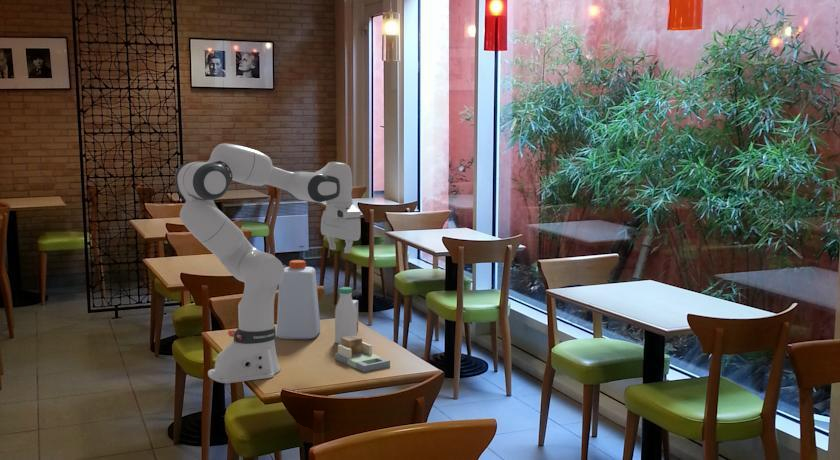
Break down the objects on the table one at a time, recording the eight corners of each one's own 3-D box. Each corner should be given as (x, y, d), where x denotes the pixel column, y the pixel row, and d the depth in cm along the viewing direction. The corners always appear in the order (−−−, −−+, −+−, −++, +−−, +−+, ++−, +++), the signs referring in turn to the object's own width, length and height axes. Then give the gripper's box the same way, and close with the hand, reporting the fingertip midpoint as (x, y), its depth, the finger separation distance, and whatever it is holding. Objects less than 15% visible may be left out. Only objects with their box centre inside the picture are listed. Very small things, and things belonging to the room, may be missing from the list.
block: (349, 355, 277) (349, 340, 277) (341, 352, 281) (341, 337, 281) (362, 352, 280) (362, 338, 280) (354, 349, 284) (354, 335, 284)
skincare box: (354, 334, 312) (354, 303, 310) (343, 334, 313) (343, 302, 311) (358, 330, 318) (358, 299, 316) (347, 330, 319) (347, 299, 317)
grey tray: (364, 372, 266) (364, 356, 265) (335, 358, 280) (335, 344, 279) (390, 366, 272) (390, 351, 271) (360, 354, 286) (360, 339, 285)
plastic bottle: (282, 329, 319) (281, 257, 315) (321, 330, 318) (321, 258, 315) (274, 340, 304) (272, 264, 300) (315, 340, 303) (314, 264, 300)
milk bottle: (359, 344, 299) (359, 289, 296) (338, 346, 296) (338, 290, 294) (353, 338, 306) (352, 285, 303) (332, 340, 303) (332, 286, 301)
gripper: (315, 208, 285) (316, 248, 287) (347, 213, 269) (347, 256, 271) (331, 207, 289) (332, 246, 291) (363, 212, 273) (364, 254, 274)
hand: (340, 251), depth 281 cm, fingers open, 8 cm apart
